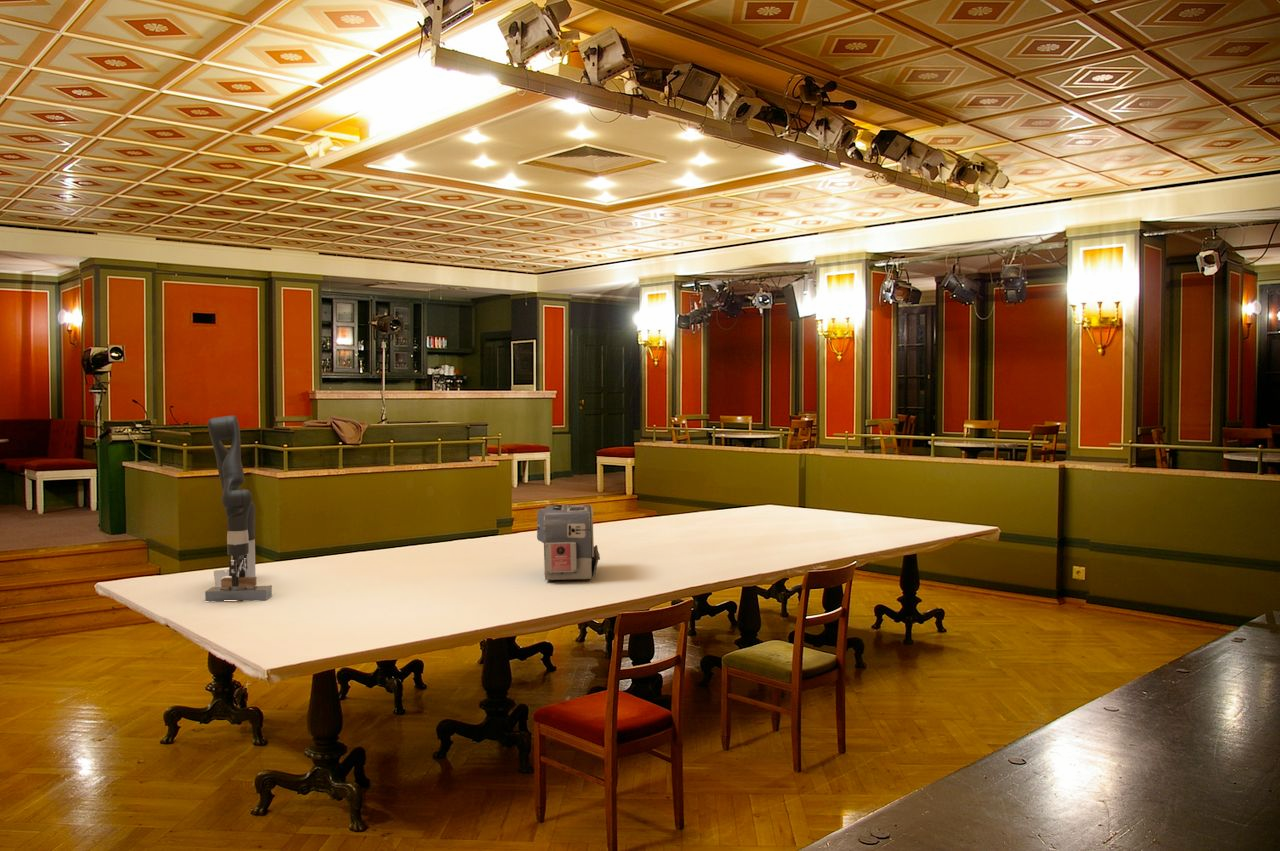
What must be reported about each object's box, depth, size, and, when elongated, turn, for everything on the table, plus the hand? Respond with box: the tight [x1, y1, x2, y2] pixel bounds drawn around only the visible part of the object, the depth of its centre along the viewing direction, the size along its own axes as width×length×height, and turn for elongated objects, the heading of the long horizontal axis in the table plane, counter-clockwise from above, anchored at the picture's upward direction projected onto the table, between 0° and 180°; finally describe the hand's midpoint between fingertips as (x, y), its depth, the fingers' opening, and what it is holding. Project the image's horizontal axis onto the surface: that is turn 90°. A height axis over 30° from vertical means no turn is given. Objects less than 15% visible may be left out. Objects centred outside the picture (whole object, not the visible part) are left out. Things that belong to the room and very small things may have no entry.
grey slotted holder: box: [204, 585, 273, 601], centre depth 362 cm, size 8×22×4 cm, turn 96°
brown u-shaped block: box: [221, 576, 257, 590], centre depth 362 cm, size 3×12×8 cm, turn 96°
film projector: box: [536, 504, 601, 583], centre depth 403 cm, size 39×29×30 cm
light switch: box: [213, 568, 235, 587], centre depth 376 cm, size 8×6×14 cm
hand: (238, 584), depth 361 cm, fingers open, 8 cm apart
